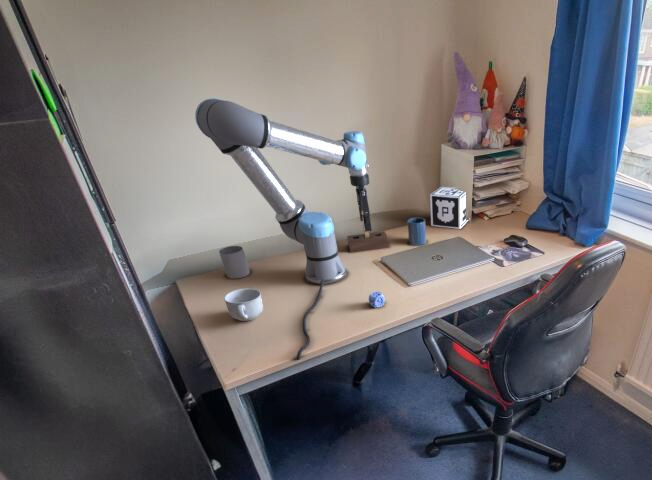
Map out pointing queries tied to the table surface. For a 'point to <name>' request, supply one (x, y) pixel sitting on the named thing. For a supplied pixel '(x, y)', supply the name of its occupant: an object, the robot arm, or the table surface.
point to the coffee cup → (417, 231)
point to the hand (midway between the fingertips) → (366, 225)
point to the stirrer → (364, 228)
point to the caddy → (367, 241)
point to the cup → (234, 262)
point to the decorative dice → (376, 299)
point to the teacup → (244, 304)
